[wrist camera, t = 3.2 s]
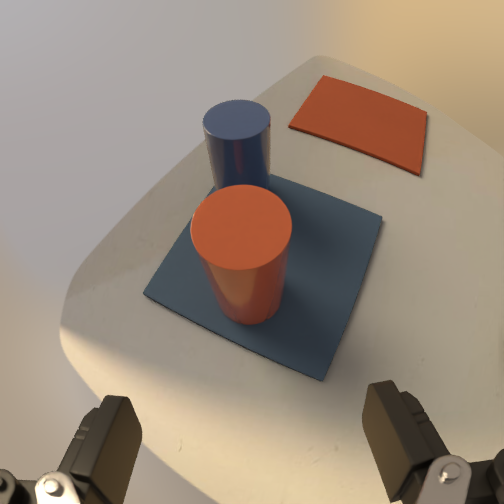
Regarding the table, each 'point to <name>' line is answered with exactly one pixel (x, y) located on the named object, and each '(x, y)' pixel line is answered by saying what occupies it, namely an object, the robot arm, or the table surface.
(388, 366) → the table surface
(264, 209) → the terracotta canister
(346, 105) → the terracotta mat
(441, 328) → the table surface
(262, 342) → the blue mat
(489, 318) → the table surface
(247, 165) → the blue canister
